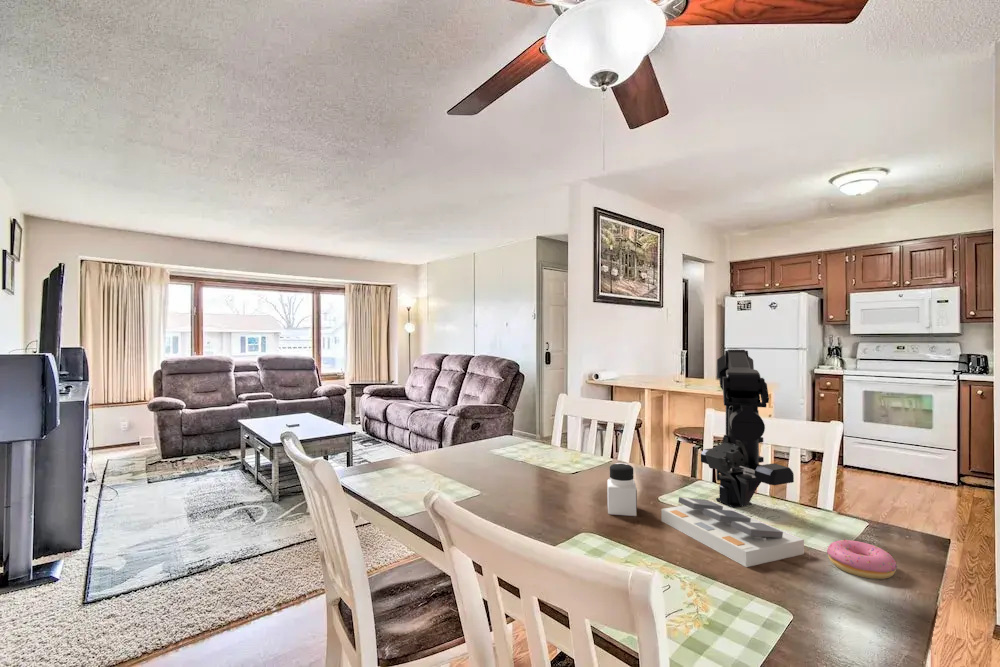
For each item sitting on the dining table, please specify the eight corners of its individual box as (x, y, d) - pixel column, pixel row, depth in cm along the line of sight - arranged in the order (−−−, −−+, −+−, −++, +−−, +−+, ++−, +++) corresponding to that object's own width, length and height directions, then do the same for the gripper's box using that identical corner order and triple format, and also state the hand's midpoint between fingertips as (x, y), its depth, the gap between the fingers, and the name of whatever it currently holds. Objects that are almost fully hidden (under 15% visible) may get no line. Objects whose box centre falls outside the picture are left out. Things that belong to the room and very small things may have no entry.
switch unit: (712, 512, 122) (711, 498, 122) (803, 554, 98) (803, 536, 98) (661, 521, 116) (661, 506, 116) (746, 567, 93) (746, 548, 93)
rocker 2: (761, 528, 104) (762, 522, 104) (782, 537, 99) (783, 531, 99) (730, 526, 101) (731, 520, 101) (750, 535, 96) (751, 529, 96)
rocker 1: (706, 504, 119) (707, 499, 119) (722, 511, 114) (722, 506, 114) (678, 502, 116) (679, 496, 116) (693, 509, 111) (694, 503, 111)
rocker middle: (732, 515, 111) (732, 510, 111) (750, 523, 106) (750, 517, 107) (702, 513, 108) (703, 507, 108) (719, 521, 103) (720, 515, 103)
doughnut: (824, 551, 100) (824, 531, 100) (890, 563, 94) (890, 542, 94) (829, 573, 91) (829, 552, 91) (903, 588, 85) (903, 565, 85)
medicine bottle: (637, 516, 119) (636, 469, 119) (608, 514, 121) (607, 467, 121) (634, 506, 126) (634, 462, 126) (607, 505, 128) (607, 460, 128)
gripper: (681, 426, 105) (681, 496, 105) (752, 444, 87) (752, 528, 87) (719, 422, 109) (720, 490, 109) (795, 439, 91) (796, 519, 91)
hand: (743, 505), depth 99 cm, fingers closed
